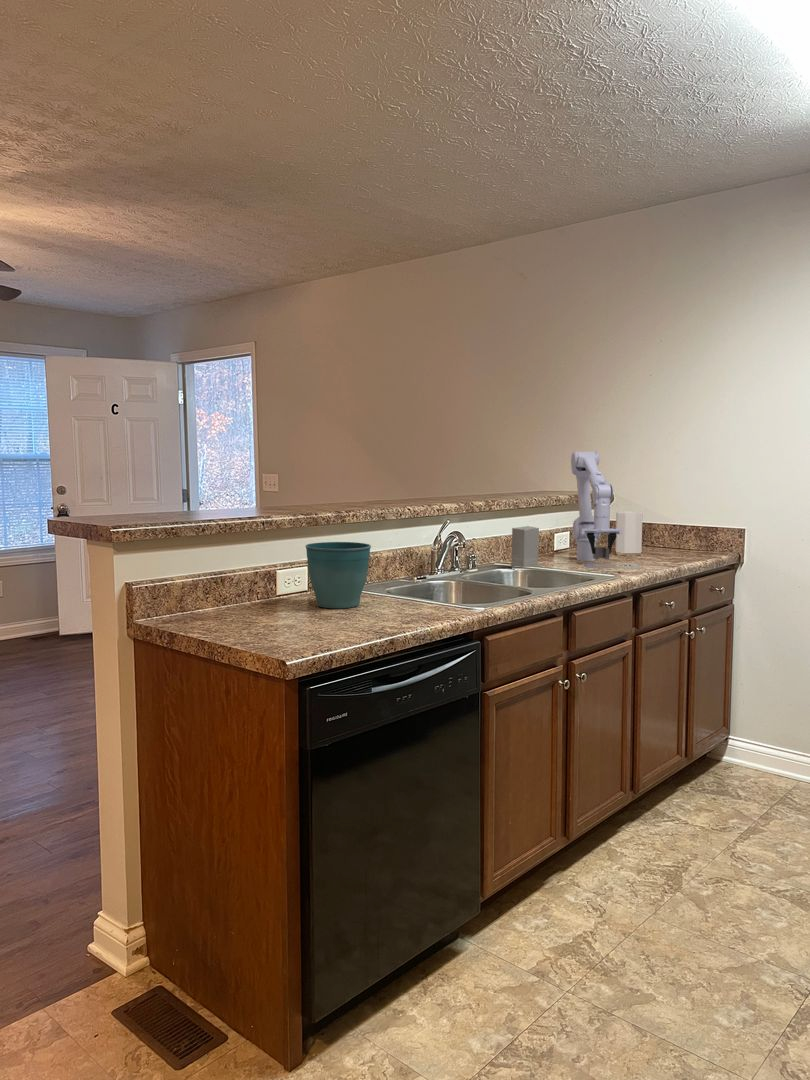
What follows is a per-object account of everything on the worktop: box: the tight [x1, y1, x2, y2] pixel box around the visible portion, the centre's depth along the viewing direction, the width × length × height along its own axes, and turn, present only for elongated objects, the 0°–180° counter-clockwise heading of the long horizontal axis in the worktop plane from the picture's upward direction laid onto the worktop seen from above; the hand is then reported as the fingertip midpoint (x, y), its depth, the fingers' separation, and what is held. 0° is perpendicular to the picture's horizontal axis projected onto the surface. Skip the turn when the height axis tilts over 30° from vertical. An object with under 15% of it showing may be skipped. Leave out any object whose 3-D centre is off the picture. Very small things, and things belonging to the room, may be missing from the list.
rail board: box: [581, 562, 644, 570], centre depth 298 cm, size 14×20×2 cm
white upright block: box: [614, 510, 644, 553], centre depth 344 cm, size 11×11×18 cm
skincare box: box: [510, 525, 540, 568], centre depth 298 cm, size 8×7×16 cm
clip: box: [593, 546, 610, 560], centre depth 297 cm, size 5×5×4 cm
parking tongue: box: [554, 561, 579, 566], centre depth 304 cm, size 8×8×2 cm
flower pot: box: [305, 541, 372, 609], centre depth 223 cm, size 18×18×17 cm
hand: (601, 553), depth 297 cm, fingers closed on clip, 5 cm apart
